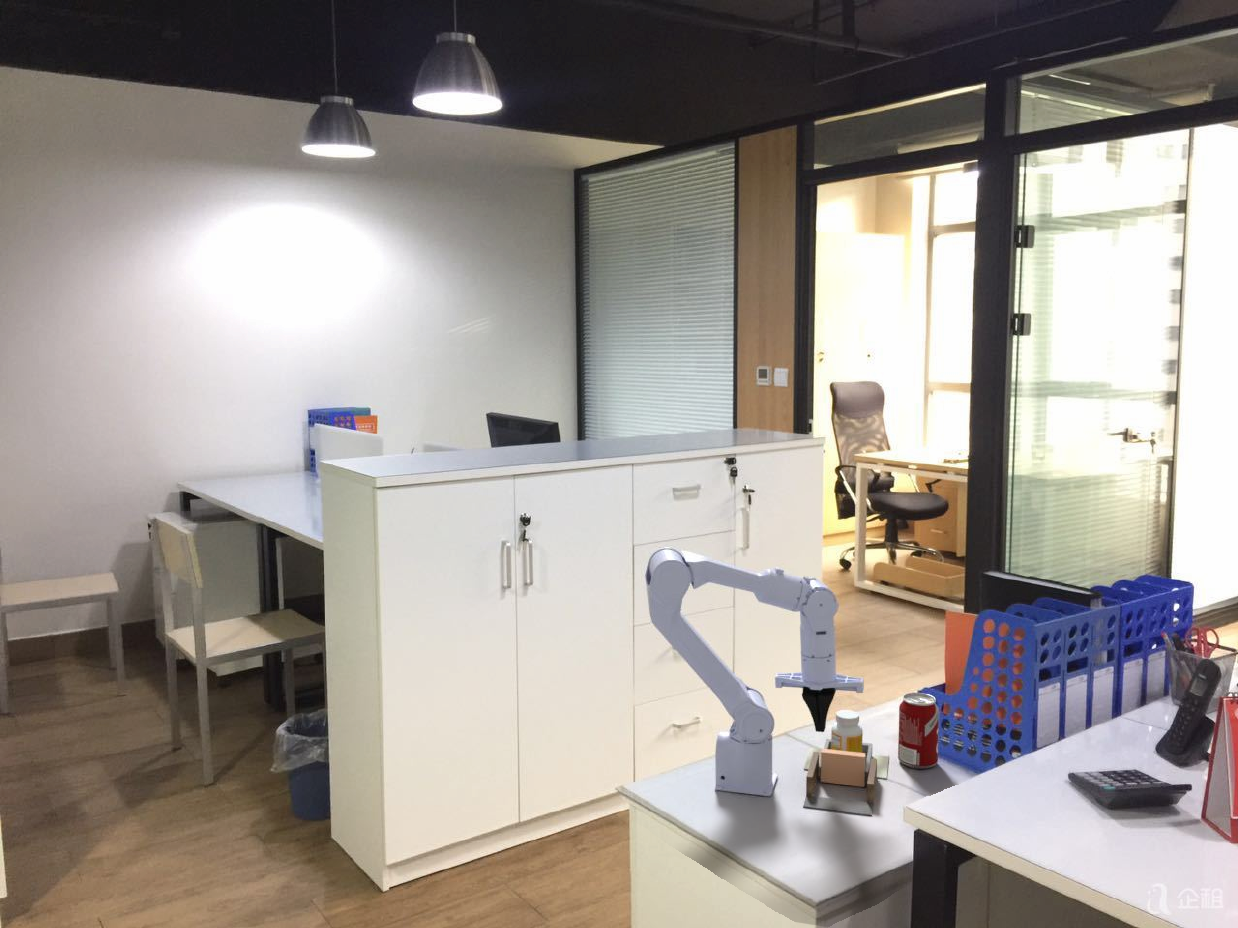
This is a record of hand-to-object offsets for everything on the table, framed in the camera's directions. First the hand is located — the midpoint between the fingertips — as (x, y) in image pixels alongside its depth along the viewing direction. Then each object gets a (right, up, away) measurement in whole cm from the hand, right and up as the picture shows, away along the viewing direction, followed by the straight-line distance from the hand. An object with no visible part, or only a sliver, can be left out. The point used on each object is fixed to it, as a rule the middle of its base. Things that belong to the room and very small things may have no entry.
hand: (820, 729), depth 173 cm
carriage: (+6, -9, +6) cm, 12 cm away
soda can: (+19, -8, +8) cm, 22 cm away
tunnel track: (+4, -9, +2) cm, 10 cm away
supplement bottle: (+6, -9, +7) cm, 13 cm away
